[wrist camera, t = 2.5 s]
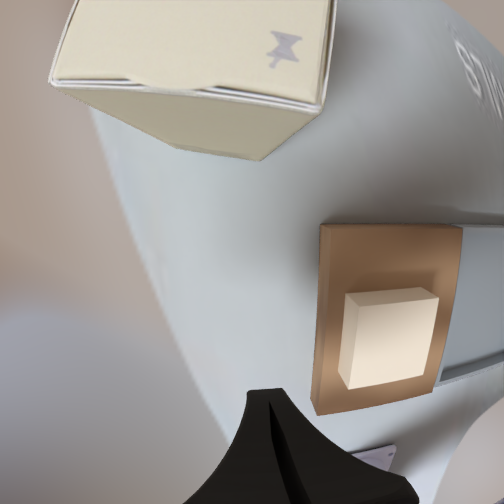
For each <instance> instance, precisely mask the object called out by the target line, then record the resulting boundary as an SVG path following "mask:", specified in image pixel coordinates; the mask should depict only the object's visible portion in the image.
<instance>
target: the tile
mask: <svg viewBox="0 0 504 504" xmlns="http://www.w3.org/2000/svg"><path fill="white" fill-rule="evenodd" d="M438 301H439V298H438V297H437V296H435V295H433V294H432V293H430V292H429V291H427V290H425V289H423V288H422V287H415V288H405V289H394V290H383V291H371V292H358V293H345V306H344V318H343V329H342V339H341V348H340V357H339V366H338V372H339V374H340V376H341V378H342V379H343V381H344V383H345V385H346V386H347V388H348V390H349V389H355V388H361V387H367V386H372V385H378V384H383V383H388V382H393V381H398V380H403V379H407V378H412V377H416V376H420V375H423V373H424V369H425V365H426V361H427V357H428V352H429V348H430V343H431V339H432V334H433V329H434V324H435V319H436V313H437V307H438Z"/></svg>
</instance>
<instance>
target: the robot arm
mask: <svg viewBox="0 0 504 504" xmlns="http://www.w3.org/2000/svg"><path fill="white" fill-rule="evenodd" d="M396 450H397V448H396V446H395V445H389V446H386V447H382V448H378V449H373V450H369V451H365V452H360V453H356V454H349V453H347V452H346V451H344V450H343V449H341V448H340V447H338V446H337V445H336V444H334V443H333V442H332V441H330V440H329V439H328V438H327V437H326V436H324V435H323V434H322V433H321V432H320V431H319V430H318V429H317V428H315V427H314V426H313V425H312V424H311V423H310V422H309V420H308V419H307V418H306V417H305V416H304V415H303V414H302V413H301V412H300V411H299V409H298V408H297V407H296V406H295V405H294V403H293V402H292V401H291V399H290V398H289V397H288V395H287V394H286V392H285V391H284V390H283V389H282V388H275V389H261V390H249V391H248V392H247V401H246V406H245V410H244V414H243V417H242V420H241V423H240V426H239V428H238V431H237V433H236V435H235V437H234V440H233V442H232V444H231V446H230V447H229V449H228V451H227V453H226V455H225V456H224V458H223V459H222V461H221V462H220V464H219V465H218V467H217V468H216V469H215V471H214V472H213V473H212V475H211V476H210V477H209V478H208V479H207V480H206V482H205V483H204V484H203V485H202V486H201V487H200V488H199V490H197V491H196V492H195V493H194V494H193V495H192V496H191V497H190V498H189V499H188V500H187V501H186V502H184V503H183V504H419V497H418V495H417V493H416V492H415V490H414V488H413V487H412V486H411V484H410V483H409V482H408V481H407V479H406V478H405V477H403V476H400V475H397V474H394V473H391V472H388V470H389V468H390V465H391V463H392V460H393V457H394V455H395V452H396ZM495 504H504V498H503V499H501V500H500V501H498V502H496V503H495Z"/></svg>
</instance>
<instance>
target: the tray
mask: <svg viewBox="0 0 504 504" xmlns="http://www.w3.org/2000/svg"><path fill="white" fill-rule="evenodd" d="M450 226H454V227H458V228H462V229H463V231H462V243H461V253H460V262H459V270H458V277H457V284H456V291H455V297H454V303H453V308H452V314H451V319H450V324H449V328H448V333H447V338H446V342H445V346H444V350H443V354H442V358H441V362H440V366H439V370H438V373H437V377H436V380H435V384H434V387H438V386H441V385H444V384H448V383H451V382H454V381H458V380H461V379H464V378H467V377H470V376H473V375H476V374H479V373H482V372H485V371H488V370H490V369H493V368H496V367H498V366H501V365H504V225H475V224H450Z"/></svg>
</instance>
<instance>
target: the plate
mask: <svg viewBox="0 0 504 504" xmlns="http://www.w3.org/2000/svg"><path fill="white" fill-rule="evenodd" d="M462 231H463V229H462V228H458V227H454V226H450V225H446V224H320V248H319V279H318V302H317V320H316V336H315V350H314V363H313V375H312V386H311V397H310V399H311V401H312V404H313V407H314V409H315V412H316V414H317V416H320V415H327V414H334V413H340V412H346V411H352V410H358V409H363V408H368V407H373V406H378V405H383V404H387V403H392V402H396V401H401V400H405V399H409V398H413V397H417V396H421V395H424V394H428V393H432V390H433V387H434V384H435V380H436V377H437V373H438V370H439V366H440V362H441V358H442V354H443V350H444V346H445V342H446V338H447V333H448V328H449V324H450V319H451V314H452V308H453V303H454V297H455V291H456V284H457V277H458V270H459V262H460V253H461V243H462ZM415 287H422V288H423V289H425V290H427V291H429V292H430V293H432V294H433V295H435V296H437V297H438V298H439V301H438V307H437V313H436V319H435V324H434V329H433V334H432V339H431V343H430V348H429V352H428V357H427V361H426V365H425V369H424V373H423V375H420V376H416V377H412V378H407V379H403V380H398V381H393V382H388V383H383V384H378V385H372V386H367V387H361V388H355V389H349V390H348V388H347V386H346V385H345V383H344V381H343V379H342V378H341V376H340V374H339V372H338V366H339V357H340V348H341V339H342V329H343V318H344V306H345V293H358V292H371V291H383V290H394V289H405V288H415Z"/></svg>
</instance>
